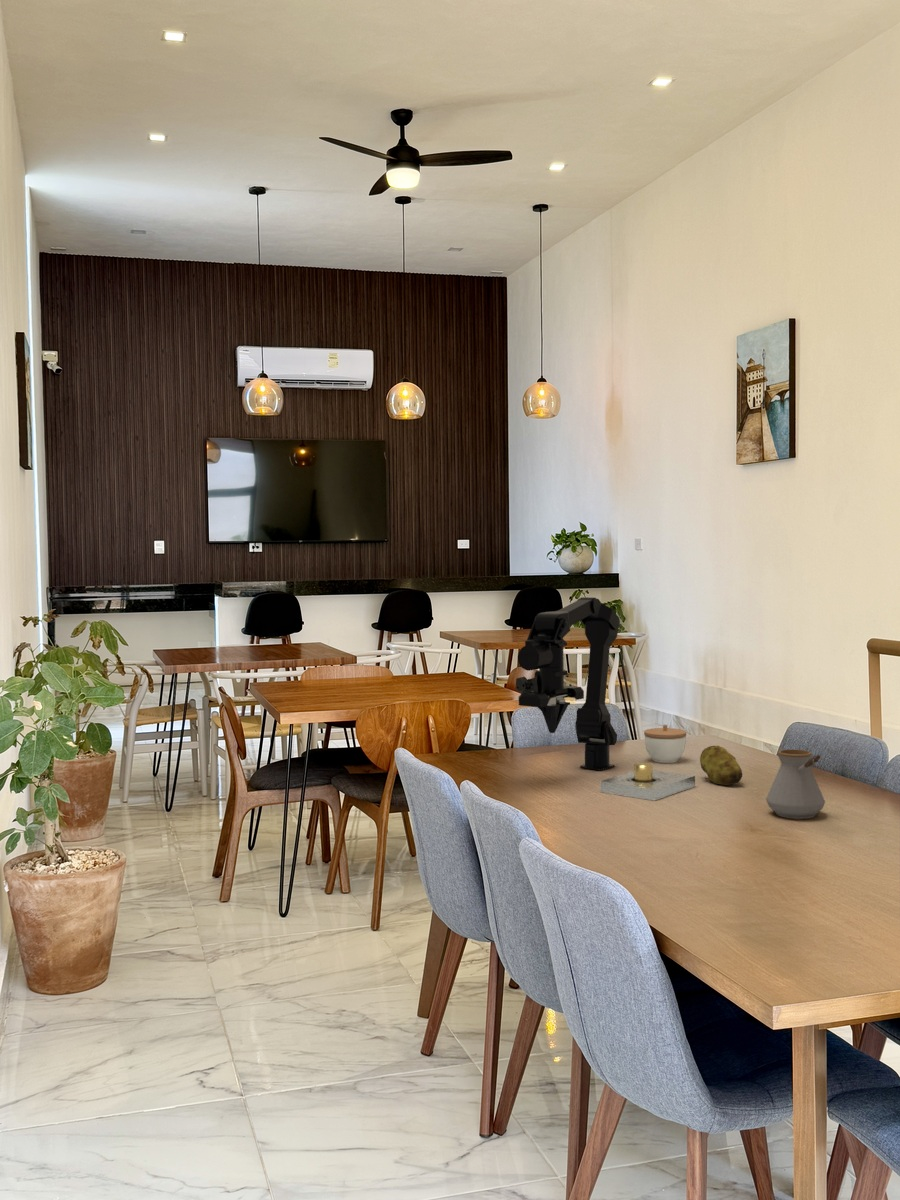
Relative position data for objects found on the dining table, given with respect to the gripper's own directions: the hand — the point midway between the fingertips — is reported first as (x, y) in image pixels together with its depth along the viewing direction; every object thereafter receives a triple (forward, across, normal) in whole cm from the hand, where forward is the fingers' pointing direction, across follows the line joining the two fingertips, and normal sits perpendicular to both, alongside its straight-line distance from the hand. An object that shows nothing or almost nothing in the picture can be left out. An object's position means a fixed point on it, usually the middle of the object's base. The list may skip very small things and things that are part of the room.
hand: (552, 732), depth 255 cm
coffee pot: (+12, -2, +60) cm, 61 cm away
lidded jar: (+12, -40, +7) cm, 42 cm away
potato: (+12, -25, +30) cm, 41 cm away
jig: (+12, -8, +21) cm, 25 cm away
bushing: (+12, -6, +21) cm, 25 cm away
